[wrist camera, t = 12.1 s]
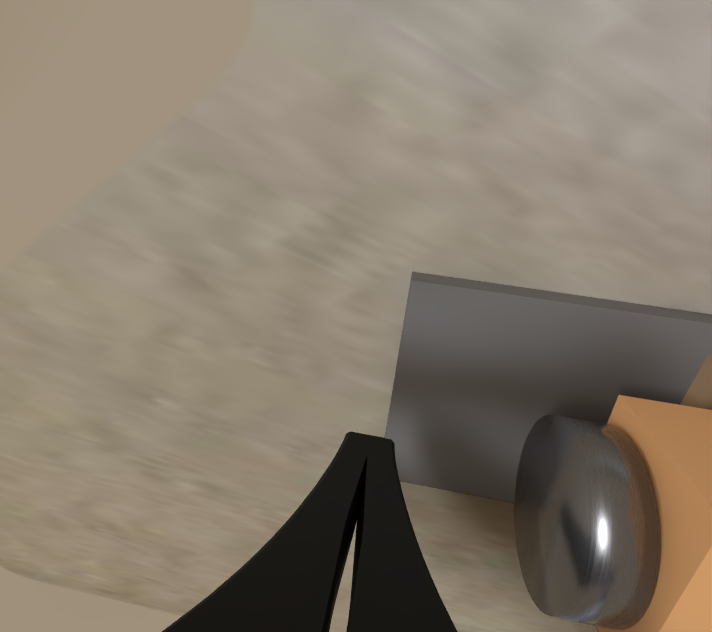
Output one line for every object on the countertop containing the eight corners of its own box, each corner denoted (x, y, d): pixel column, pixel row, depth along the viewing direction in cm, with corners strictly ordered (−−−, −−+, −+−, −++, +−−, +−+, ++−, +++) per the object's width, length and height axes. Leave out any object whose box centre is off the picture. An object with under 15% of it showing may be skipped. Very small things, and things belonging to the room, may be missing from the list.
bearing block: (827, 547, 16) (1091, 832, 10) (380, 462, 18) (354, 656, 12) (1012, 357, 12) (1672, 630, 6) (412, 271, 14) (398, 406, 8)
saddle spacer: (654, 552, 14) (756, 725, 9) (561, 533, 14) (620, 693, 10) (729, 413, 12) (903, 556, 7) (618, 394, 12) (725, 523, 8)
